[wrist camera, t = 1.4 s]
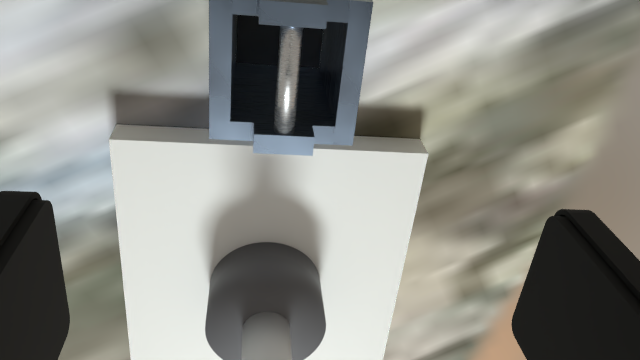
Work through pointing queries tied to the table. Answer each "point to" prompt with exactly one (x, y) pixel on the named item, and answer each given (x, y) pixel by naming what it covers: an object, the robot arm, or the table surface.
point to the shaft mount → (261, 244)
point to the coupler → (288, 75)
